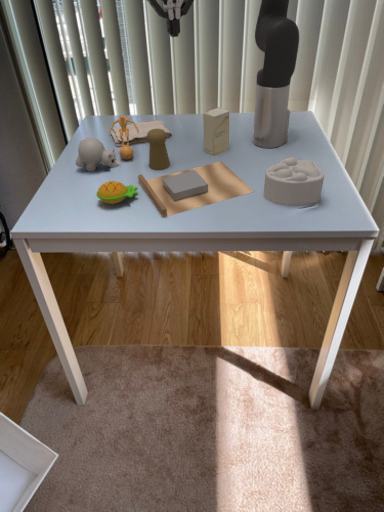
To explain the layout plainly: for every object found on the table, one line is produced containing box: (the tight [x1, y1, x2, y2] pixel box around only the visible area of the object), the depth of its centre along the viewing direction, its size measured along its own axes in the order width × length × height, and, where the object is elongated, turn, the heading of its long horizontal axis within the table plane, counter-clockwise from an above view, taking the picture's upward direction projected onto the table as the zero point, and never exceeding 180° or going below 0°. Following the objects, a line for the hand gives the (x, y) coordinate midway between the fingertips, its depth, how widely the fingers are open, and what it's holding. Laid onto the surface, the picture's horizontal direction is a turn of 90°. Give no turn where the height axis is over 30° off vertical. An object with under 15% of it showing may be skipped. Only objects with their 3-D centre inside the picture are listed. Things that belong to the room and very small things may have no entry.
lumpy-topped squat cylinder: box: [263, 156, 325, 210], centre depth 98 cm, size 10×13×9 cm
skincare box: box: [202, 107, 230, 156], centre depth 116 cm, size 6×4×12 cm
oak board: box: [137, 160, 255, 218], centre depth 104 cm, size 24×18×3 cm
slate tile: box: [162, 170, 208, 201], centre depth 103 cm, size 2×8×9 cm
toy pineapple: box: [96, 180, 139, 205], centre depth 101 cm, size 7×10×5 cm
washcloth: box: [111, 119, 173, 148], centre depth 131 cm, size 12×18×3 cm, turn 110°
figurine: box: [109, 115, 139, 160], centre depth 117 cm, size 8×6×12 cm
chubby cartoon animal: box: [75, 137, 121, 172], centre depth 114 cm, size 7×12×8 cm, turn 79°
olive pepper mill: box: [147, 129, 171, 171], centre depth 111 cm, size 6×6×11 cm
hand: (174, 36), depth 101 cm, fingers closed
